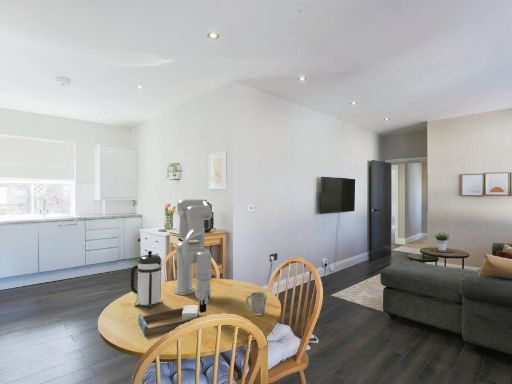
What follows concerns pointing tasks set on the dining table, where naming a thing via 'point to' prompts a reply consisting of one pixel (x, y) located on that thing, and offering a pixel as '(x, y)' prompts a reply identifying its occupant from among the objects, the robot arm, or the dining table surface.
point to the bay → (162, 327)
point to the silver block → (190, 312)
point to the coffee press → (147, 279)
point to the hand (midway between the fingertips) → (202, 311)
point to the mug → (257, 302)
